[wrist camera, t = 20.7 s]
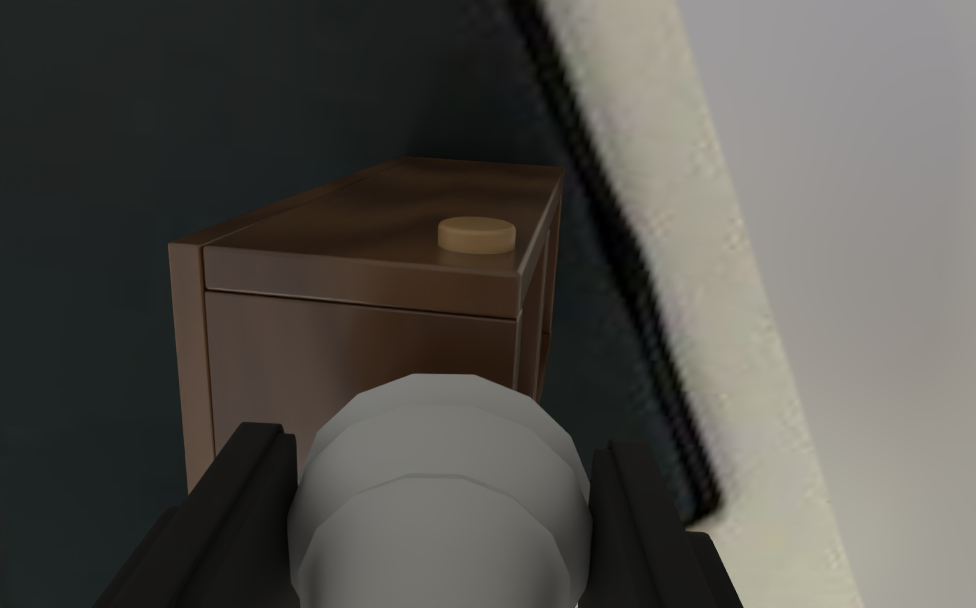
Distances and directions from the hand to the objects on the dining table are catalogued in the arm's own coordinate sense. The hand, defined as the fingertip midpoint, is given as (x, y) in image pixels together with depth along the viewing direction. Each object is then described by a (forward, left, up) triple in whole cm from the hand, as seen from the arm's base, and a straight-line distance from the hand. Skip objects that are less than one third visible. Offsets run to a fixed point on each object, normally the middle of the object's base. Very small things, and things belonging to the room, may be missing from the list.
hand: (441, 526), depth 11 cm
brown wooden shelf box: (+3, +3, -10) cm, 11 cm away
